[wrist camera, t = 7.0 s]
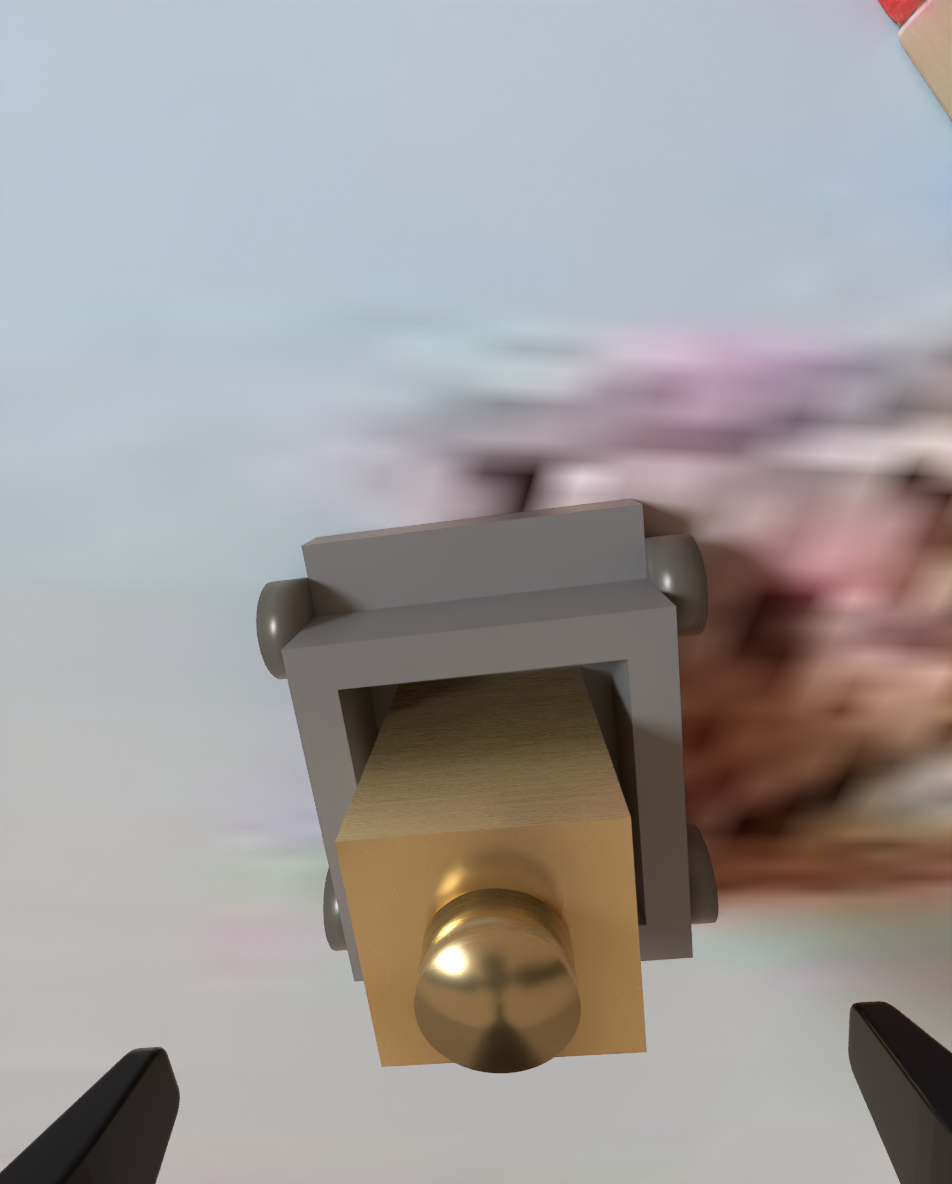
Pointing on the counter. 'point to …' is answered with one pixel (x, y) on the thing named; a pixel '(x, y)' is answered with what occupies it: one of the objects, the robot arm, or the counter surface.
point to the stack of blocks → (927, 41)
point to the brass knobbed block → (494, 877)
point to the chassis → (504, 665)
